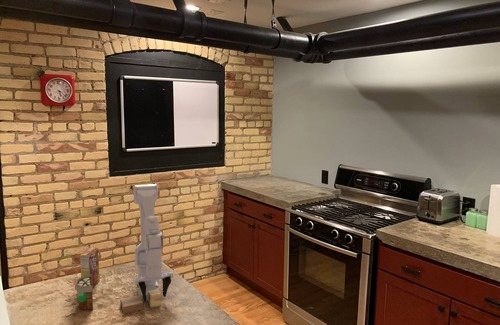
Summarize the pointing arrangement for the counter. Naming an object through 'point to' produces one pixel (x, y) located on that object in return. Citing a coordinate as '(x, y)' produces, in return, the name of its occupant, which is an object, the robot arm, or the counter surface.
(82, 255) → the candy box
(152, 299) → the maple cube
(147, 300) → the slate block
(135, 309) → the walnut block
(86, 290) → the food container
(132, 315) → the counter surface
